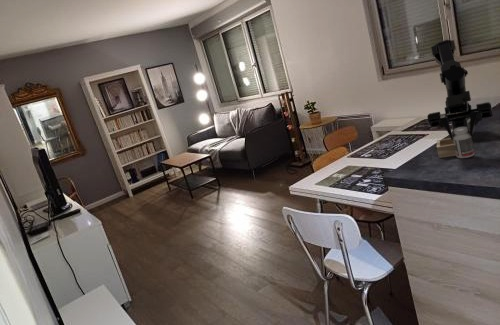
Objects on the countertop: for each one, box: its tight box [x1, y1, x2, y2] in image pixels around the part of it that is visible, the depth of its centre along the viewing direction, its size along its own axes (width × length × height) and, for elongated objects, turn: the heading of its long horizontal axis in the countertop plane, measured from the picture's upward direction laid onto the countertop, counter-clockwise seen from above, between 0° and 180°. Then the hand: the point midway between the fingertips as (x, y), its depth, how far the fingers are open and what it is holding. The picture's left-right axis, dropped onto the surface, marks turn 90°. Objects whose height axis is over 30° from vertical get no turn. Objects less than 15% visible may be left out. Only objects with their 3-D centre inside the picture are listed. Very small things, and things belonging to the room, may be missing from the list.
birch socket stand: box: [436, 137, 456, 159], centre depth 129 cm, size 8×8×4 cm
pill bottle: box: [453, 127, 476, 159], centre depth 120 cm, size 5×5×10 cm
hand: (461, 137), depth 118 cm, fingers closed on pill bottle, 5 cm apart
